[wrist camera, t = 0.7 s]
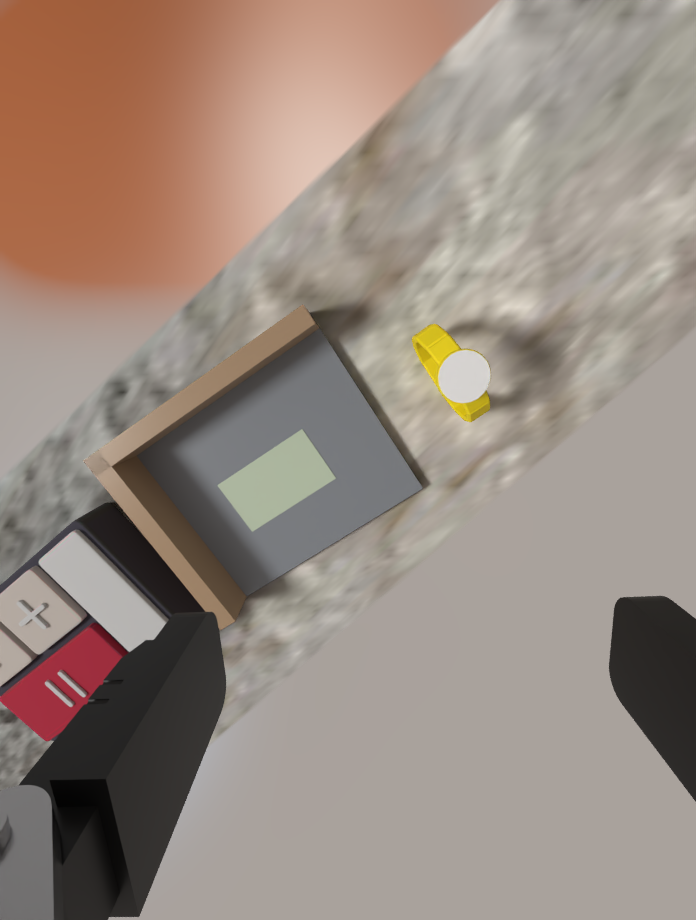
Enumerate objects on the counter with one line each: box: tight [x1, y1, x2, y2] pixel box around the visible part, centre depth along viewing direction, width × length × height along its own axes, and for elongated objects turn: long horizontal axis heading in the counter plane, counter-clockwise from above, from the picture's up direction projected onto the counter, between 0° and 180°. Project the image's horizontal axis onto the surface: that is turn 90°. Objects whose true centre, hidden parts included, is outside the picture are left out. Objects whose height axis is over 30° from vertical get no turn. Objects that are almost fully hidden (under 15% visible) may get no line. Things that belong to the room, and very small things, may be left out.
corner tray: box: [83, 305, 423, 630], centre depth 27 cm, size 16×14×4 cm
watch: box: [412, 324, 491, 422], centre depth 25 cm, size 6×3×6 cm, turn 35°
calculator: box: [0, 503, 205, 741], centre depth 30 cm, size 11×4×15 cm
